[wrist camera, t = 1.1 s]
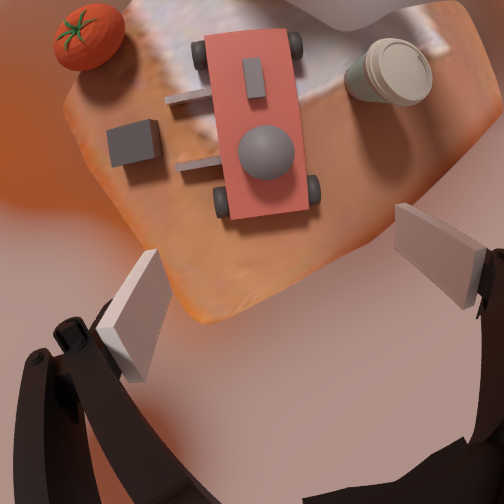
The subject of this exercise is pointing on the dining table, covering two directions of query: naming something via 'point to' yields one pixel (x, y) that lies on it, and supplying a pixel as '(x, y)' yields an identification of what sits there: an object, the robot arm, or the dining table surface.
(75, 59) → the tomato
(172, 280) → the dining table surface
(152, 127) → the grey cube
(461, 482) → the robot arm
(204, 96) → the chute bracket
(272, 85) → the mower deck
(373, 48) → the coffee cup
